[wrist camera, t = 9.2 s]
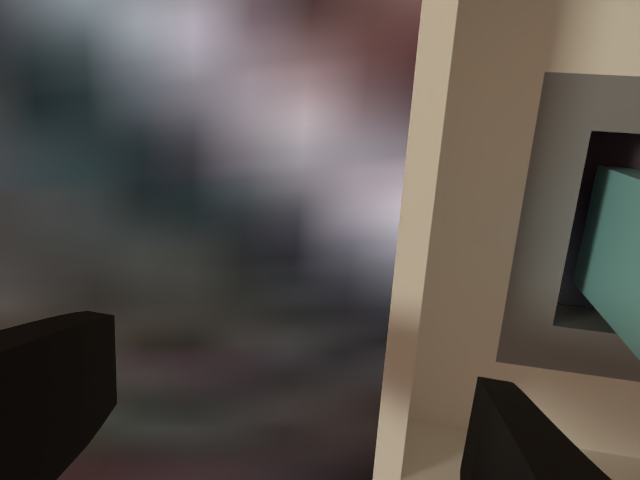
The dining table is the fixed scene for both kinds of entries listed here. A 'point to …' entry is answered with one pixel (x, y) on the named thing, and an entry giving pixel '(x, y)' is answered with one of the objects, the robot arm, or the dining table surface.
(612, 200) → the block
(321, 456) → the dining table surface
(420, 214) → the walled box
